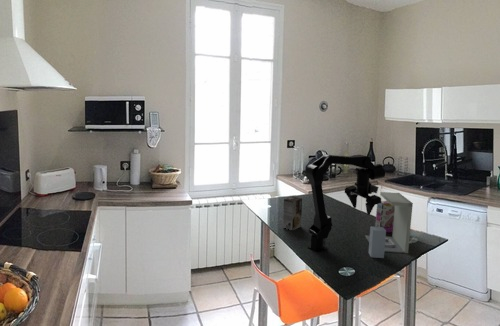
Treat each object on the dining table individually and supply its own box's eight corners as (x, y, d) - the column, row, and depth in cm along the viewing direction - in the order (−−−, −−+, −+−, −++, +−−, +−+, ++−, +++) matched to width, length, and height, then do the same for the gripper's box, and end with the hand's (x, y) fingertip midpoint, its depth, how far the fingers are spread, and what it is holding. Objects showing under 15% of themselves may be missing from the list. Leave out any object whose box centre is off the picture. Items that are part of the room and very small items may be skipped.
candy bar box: (380, 233, 193) (382, 203, 191) (374, 230, 198) (376, 201, 196) (397, 232, 197) (400, 202, 194) (391, 229, 201) (394, 199, 199)
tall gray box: (370, 257, 162) (373, 230, 160) (368, 252, 167) (370, 226, 165) (383, 258, 162) (386, 230, 160) (380, 253, 167) (383, 227, 165)
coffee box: (291, 224, 205) (292, 196, 203) (301, 226, 201) (302, 198, 199) (282, 228, 198) (283, 199, 196) (292, 231, 194) (293, 201, 192)
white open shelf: (374, 251, 169) (378, 201, 166) (365, 236, 189) (368, 191, 185) (408, 253, 168) (412, 203, 164) (395, 237, 188) (399, 192, 184)
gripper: (390, 183, 169) (388, 214, 174) (361, 172, 185) (360, 200, 190) (373, 188, 165) (371, 220, 170) (344, 177, 180) (343, 206, 185)
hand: (361, 211), depth 179 cm, fingers open, 9 cm apart
